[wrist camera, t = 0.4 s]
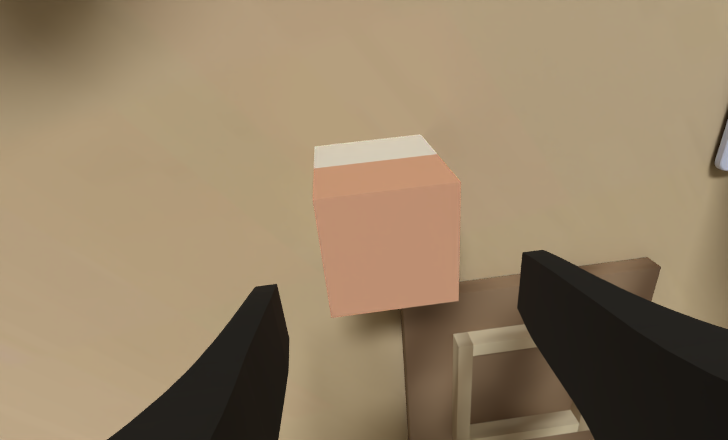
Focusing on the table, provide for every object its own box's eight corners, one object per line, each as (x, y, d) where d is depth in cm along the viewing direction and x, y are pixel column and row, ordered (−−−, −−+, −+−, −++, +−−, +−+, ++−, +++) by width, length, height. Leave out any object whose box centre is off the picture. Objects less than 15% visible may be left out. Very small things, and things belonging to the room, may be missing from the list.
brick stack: (420, 134, 19) (460, 182, 13) (422, 227, 21) (458, 300, 15) (314, 146, 18) (312, 199, 13) (328, 239, 21) (331, 318, 15)
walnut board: (647, 257, 23) (675, 277, 21) (603, 424, 29) (622, 450, 27) (399, 289, 22) (406, 313, 21) (409, 453, 29) (415, 482, 27)
